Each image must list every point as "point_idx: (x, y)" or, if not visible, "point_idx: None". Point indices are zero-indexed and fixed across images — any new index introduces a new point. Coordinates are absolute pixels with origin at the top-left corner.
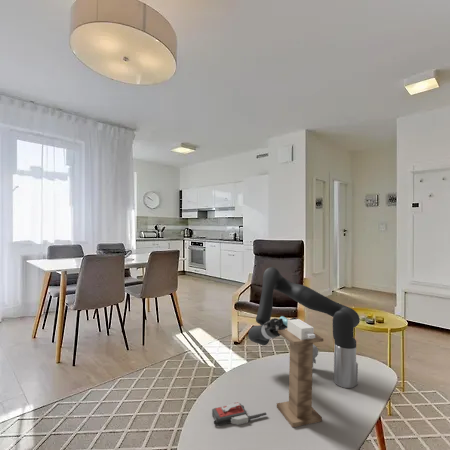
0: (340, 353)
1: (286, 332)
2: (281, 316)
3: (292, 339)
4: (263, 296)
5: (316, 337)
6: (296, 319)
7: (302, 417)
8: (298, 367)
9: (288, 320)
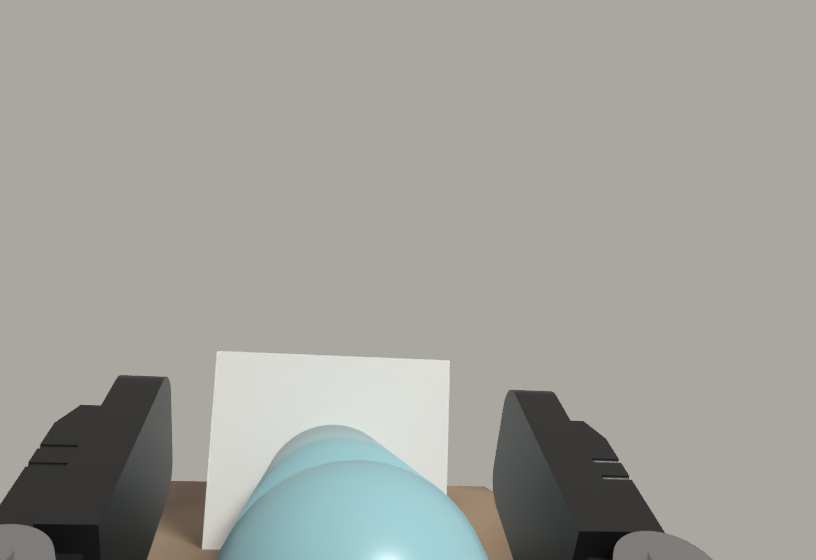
0: None
1: (491, 533)
2: (400, 471)
3: (480, 494)
4: None
5: (192, 487)
6: (277, 354)
7: None
8: None
9: (441, 361)
